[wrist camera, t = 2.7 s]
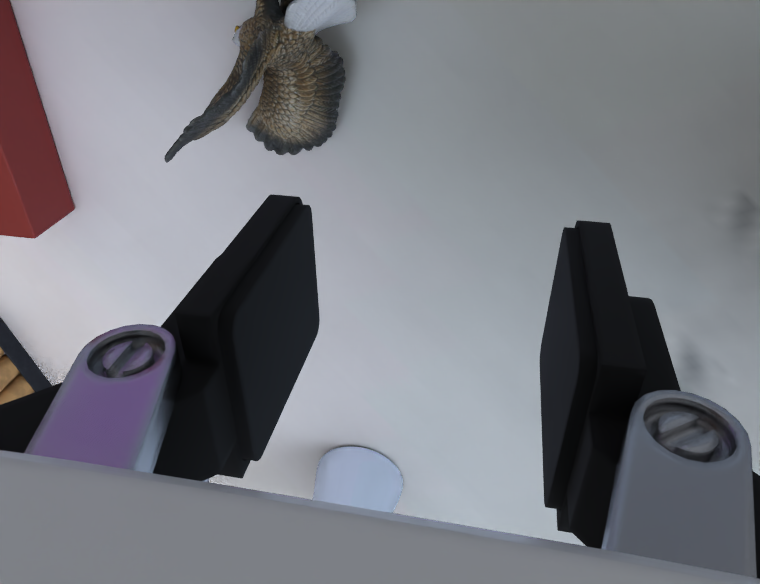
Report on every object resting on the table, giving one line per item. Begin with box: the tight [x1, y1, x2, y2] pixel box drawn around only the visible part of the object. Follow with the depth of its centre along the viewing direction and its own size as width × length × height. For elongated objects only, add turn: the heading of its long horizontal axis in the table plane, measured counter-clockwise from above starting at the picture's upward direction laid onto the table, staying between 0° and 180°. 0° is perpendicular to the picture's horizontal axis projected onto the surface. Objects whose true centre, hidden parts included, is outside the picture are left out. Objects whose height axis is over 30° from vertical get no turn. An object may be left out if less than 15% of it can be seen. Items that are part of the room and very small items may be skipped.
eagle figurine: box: [165, 0, 357, 162], centre depth 25 cm, size 8×7×9 cm
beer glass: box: [312, 446, 403, 513], centre depth 36 cm, size 7×7×15 cm
